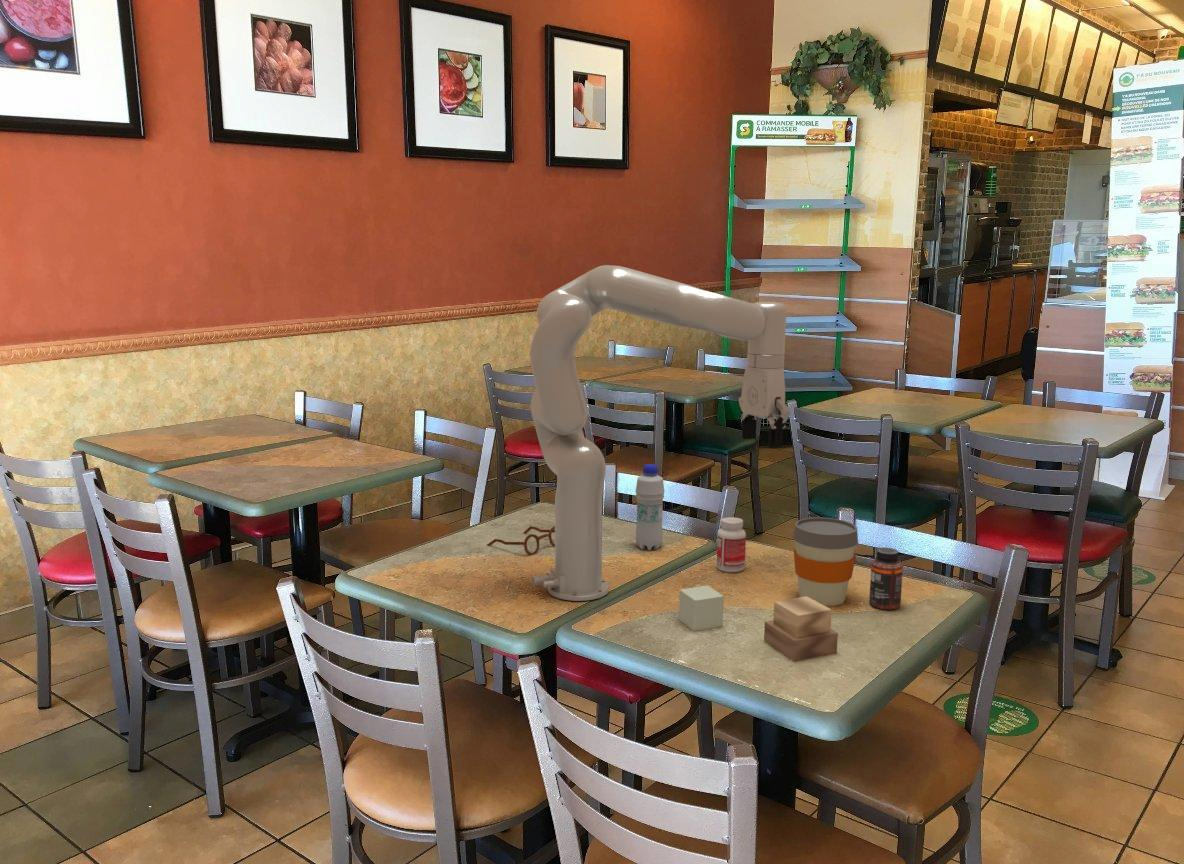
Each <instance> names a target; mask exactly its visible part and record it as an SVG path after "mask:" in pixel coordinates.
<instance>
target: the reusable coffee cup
mask: <svg viewBox="0 0 1184 864" xmlns="http://www.w3.org/2000/svg"><path fill="white" fill-rule="evenodd" d="M858 535H859V534H858V526H856V525H855V524H854V523H851V522H849V521H847V520H844V519H838V518H831V517H806V518H802V519H798V520H797V521H795V523H794V528H793V536H792V538H793V540H794V546H795V547H794V549H793V559H794V560H793V561H794V573H795V574H796V575H797V582H798V583H797V584H798V585H797V586H798V594H799V595H798V596H799V597H798V598H800V597H805V596H807V597H809V598H811V599H813V600H815V601H816V602H818V603H820V604H822V605H824V606H826V607H835V606H839V605H842V604H843V603H845V600H846V597H847V591H848V586H849V582H850V580H851V578H852V576H853V573H854V568H855V567H854V566H855V564H856V563H855V562H856V557H857V556H856V554H855V550H856V546H857V545H858V544H859V538H858V537H859V536H858Z"/></svg>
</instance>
